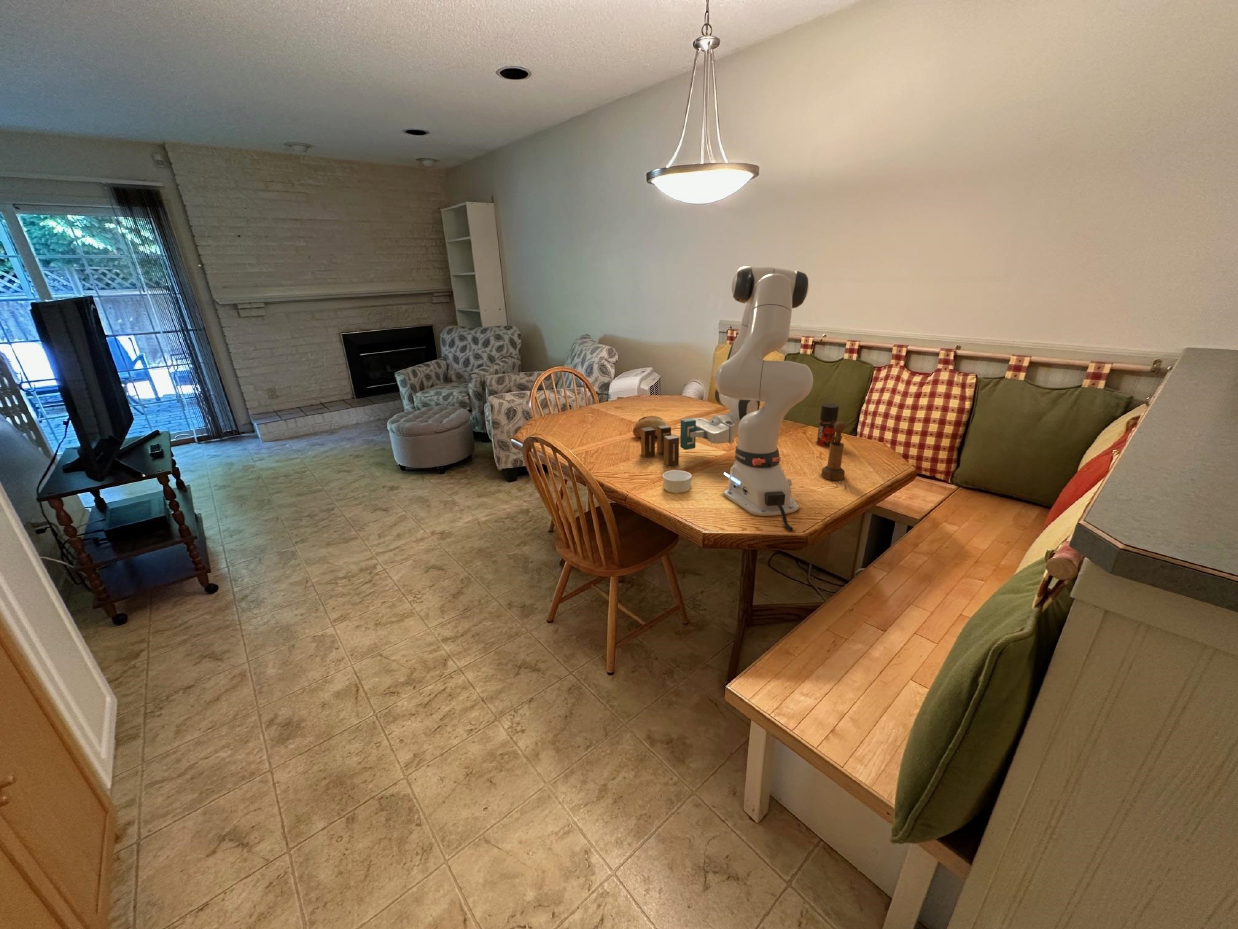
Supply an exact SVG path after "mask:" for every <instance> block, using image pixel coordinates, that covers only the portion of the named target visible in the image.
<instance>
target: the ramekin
mask: <svg viewBox="0 0 1238 929" xmlns="http://www.w3.org/2000/svg"><path fill="white" fill-rule="evenodd" d="M692 477H693V476H692V474H691V473H690V472H688V471H686V470H682V469H672V470H667V471H665V472H664V473H663V474H662V481H663V488H664V490H665V491H667V492H668V493H672V494H673V493H674V494H681V493H686V492H687V491H689V490H690V488H691V482H692Z"/></svg>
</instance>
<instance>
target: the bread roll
mask: <svg viewBox="0 0 1238 929" xmlns="http://www.w3.org/2000/svg"><path fill="white" fill-rule="evenodd" d="M661 425H668V424H667V422H666V420H664V419H663V418H662V417H660V416H656V415H651V416H650V415H649V416H643V417H641V418H640V419H638V421H636V423H635V425H634V427H633V430H632V435H633V436H635V437H638V438H639V437H640V438H641V428H648V427H651V428H653V429H655V437H657V426H661Z"/></svg>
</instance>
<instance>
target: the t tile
mask: <svg viewBox="0 0 1238 929" xmlns="http://www.w3.org/2000/svg"><path fill="white" fill-rule="evenodd" d="M670 435H672V427H671V426H670V425H668V424H667V425H661V426H657V436H656V453H658V454H660V455H664V436H670Z"/></svg>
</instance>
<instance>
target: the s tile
mask: <svg viewBox="0 0 1238 929" xmlns="http://www.w3.org/2000/svg"><path fill="white" fill-rule="evenodd" d="M692 418H693V417H688V418H687V417H686V418H683V419H682V418H681V419H680V433H679V434H680V437H679V448H681V449H682V450H685V451H687V450H692V449H696V438H697V437H693V438H691V437H689V432H691V431H694V432H696V420H694V419H692Z"/></svg>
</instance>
